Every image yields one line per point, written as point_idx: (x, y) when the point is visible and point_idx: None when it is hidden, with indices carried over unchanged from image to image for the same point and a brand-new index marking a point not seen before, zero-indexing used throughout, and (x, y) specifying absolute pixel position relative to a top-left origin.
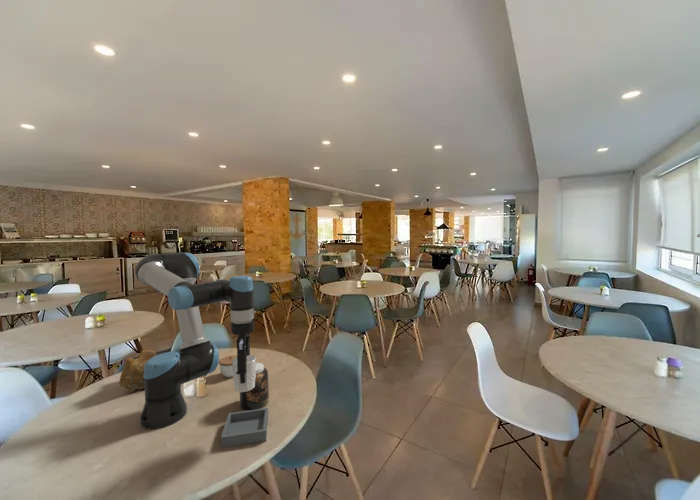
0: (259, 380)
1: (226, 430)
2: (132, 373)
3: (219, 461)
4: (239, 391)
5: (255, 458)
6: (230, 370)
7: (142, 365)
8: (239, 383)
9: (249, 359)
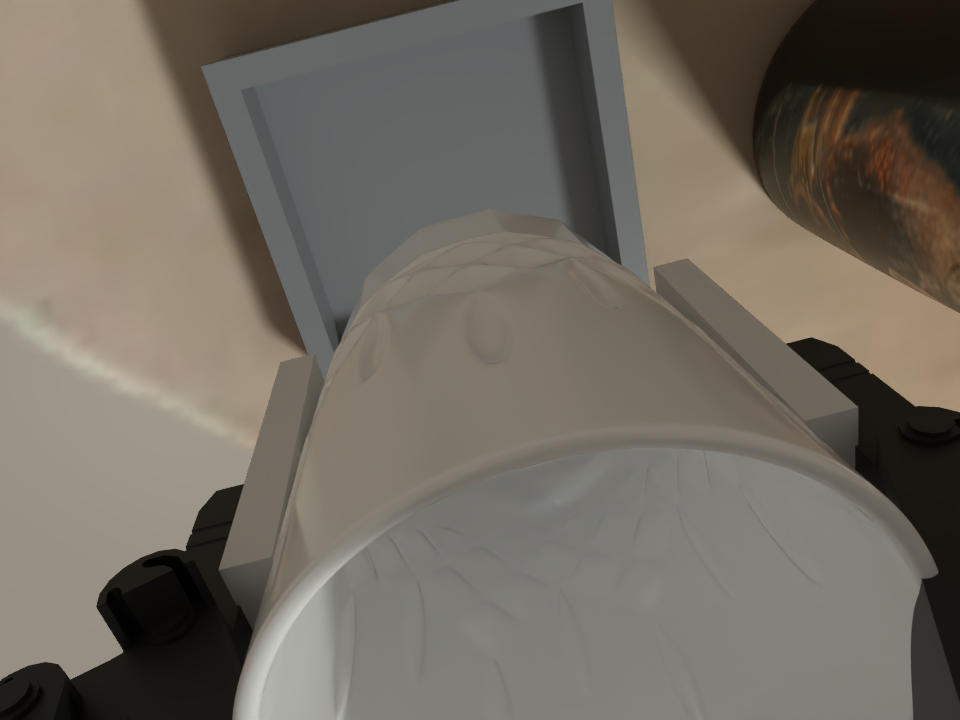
0: (939, 284)
1: (320, 68)
2: None
3: (71, 115)
4: (280, 374)
5: (153, 365)
6: None
7: None
8: (261, 447)
9: (823, 646)
